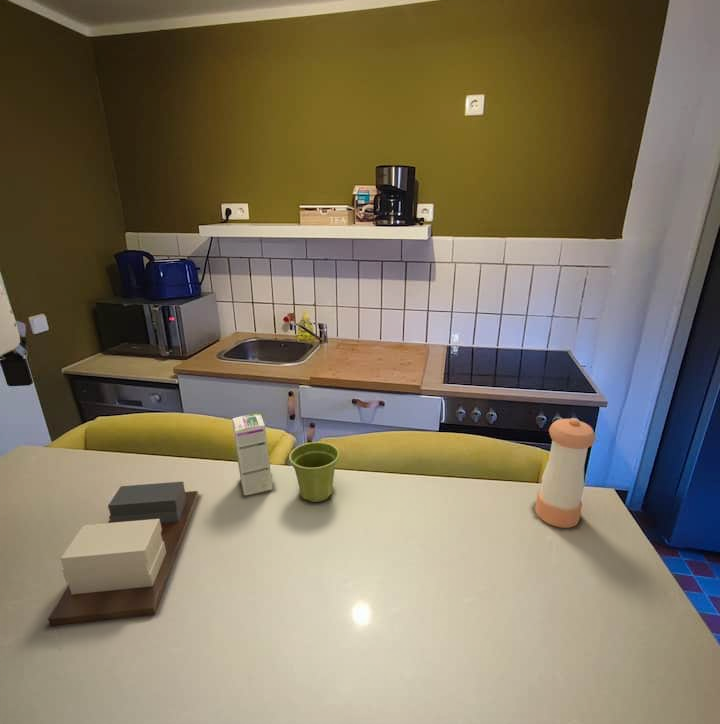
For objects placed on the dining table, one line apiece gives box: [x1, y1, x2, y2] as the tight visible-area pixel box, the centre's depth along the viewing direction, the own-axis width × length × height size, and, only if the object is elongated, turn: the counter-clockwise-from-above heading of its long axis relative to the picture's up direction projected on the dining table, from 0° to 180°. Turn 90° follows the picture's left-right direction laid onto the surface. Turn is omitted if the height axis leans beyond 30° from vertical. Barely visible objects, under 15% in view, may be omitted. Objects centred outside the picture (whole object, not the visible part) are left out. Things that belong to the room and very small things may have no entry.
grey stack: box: [107, 481, 186, 523], centre depth 75 cm, size 11×5×5 cm, turn 97°
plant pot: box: [288, 441, 340, 503], centre depth 82 cm, size 9×9×9 cm
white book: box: [60, 519, 162, 570], centre depth 62 cm, size 11×7×2 cm, turn 97°
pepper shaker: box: [534, 417, 596, 529], centre depth 74 cm, size 7×7×19 cm
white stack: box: [62, 533, 166, 594], centre depth 63 cm, size 11×7×4 cm, turn 97°
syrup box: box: [231, 413, 273, 496], centre depth 83 cm, size 6×6×14 cm
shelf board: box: [47, 490, 199, 626], centre depth 70 cm, size 14×26×1 cm, turn 7°
